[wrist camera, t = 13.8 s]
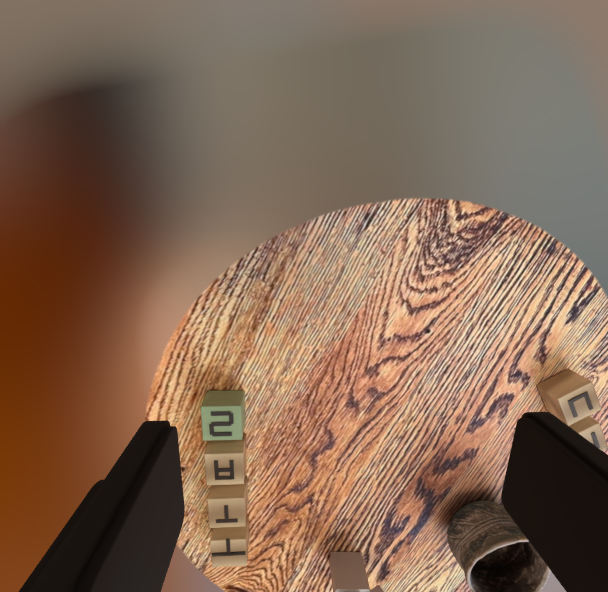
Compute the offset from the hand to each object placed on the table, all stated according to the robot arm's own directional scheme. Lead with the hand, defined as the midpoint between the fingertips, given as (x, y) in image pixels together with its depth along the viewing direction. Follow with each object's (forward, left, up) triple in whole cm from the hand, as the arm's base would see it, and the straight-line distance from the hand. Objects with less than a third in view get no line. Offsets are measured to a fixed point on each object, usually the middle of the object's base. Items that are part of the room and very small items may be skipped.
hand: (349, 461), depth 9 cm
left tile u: (+27, +20, -24) cm, 41 cm away
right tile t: (+18, -20, -24) cm, 36 cm away
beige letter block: (+23, -23, -24) cm, 40 cm away
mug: (+40, +4, -24) cm, 47 cm away
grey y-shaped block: (+36, -12, -24) cm, 45 cm away
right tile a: (+13, -17, -24) cm, 32 cm away
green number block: (+8, -14, -24) cm, 29 cm away
